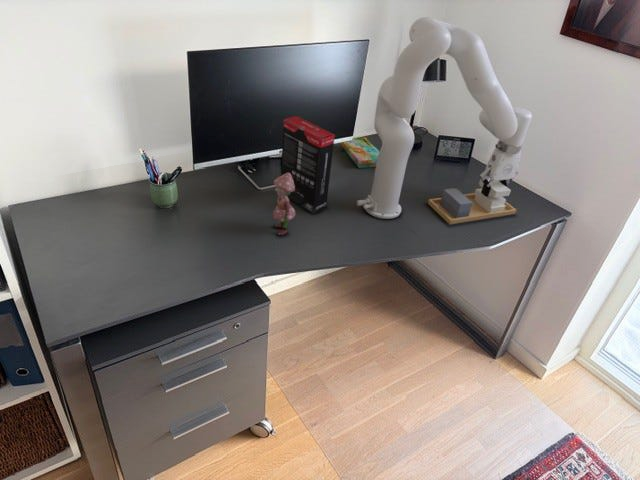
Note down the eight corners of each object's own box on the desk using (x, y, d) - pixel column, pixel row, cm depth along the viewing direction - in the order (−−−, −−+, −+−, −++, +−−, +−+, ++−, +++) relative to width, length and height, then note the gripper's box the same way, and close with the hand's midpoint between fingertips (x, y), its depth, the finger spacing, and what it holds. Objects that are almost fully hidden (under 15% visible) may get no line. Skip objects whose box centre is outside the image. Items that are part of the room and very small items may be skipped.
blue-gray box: (456, 219, 166) (458, 212, 164) (439, 204, 173) (441, 197, 171) (468, 217, 167) (470, 210, 166) (451, 202, 175) (453, 195, 173)
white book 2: (490, 207, 170) (492, 202, 169) (473, 194, 177) (475, 189, 175) (504, 204, 173) (506, 199, 171) (487, 192, 179) (488, 186, 178)
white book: (489, 213, 171) (491, 208, 170) (474, 200, 178) (475, 195, 177) (503, 211, 173) (505, 205, 172) (487, 198, 180) (489, 193, 179)
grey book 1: (458, 212, 164) (460, 204, 162) (441, 197, 171) (443, 189, 170) (470, 210, 166) (473, 202, 164) (453, 195, 173) (455, 187, 171)
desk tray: (449, 226, 163) (450, 220, 162) (427, 205, 174) (428, 199, 172) (514, 215, 173) (516, 210, 172) (490, 196, 183) (492, 190, 182)
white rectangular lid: (494, 197, 167) (496, 192, 166) (478, 184, 174) (480, 179, 173) (508, 195, 170) (511, 190, 168) (492, 183, 176) (494, 177, 175)
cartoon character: (298, 239, 150) (303, 180, 138) (275, 241, 147) (278, 182, 136) (289, 220, 157) (293, 164, 146) (267, 222, 155) (270, 165, 143)
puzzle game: (358, 158, 188) (339, 136, 203) (356, 169, 190) (338, 147, 205) (386, 156, 191) (365, 135, 206) (384, 167, 194) (364, 145, 209)
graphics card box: (327, 208, 165) (337, 132, 150) (313, 215, 161) (321, 137, 145) (292, 188, 174) (297, 114, 158) (277, 194, 170) (281, 118, 154)
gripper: (495, 153, 156) (478, 202, 167) (536, 149, 163) (518, 196, 173) (480, 143, 162) (465, 191, 172) (521, 139, 168) (504, 186, 179)
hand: (492, 193), depth 173 cm, fingers closed on white rectangular lid, 6 cm apart
